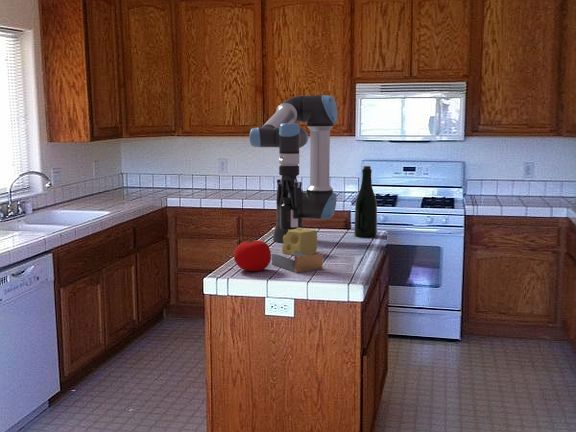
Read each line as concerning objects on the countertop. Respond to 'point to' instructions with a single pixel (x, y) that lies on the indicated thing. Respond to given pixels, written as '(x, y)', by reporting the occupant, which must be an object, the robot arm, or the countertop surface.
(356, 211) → the dark green wine bottle
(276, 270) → the countertop surface
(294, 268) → the guide channel
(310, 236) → the cheese
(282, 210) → the supplement bottle
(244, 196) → the countertop surface
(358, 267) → the countertop surface
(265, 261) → the tomato
